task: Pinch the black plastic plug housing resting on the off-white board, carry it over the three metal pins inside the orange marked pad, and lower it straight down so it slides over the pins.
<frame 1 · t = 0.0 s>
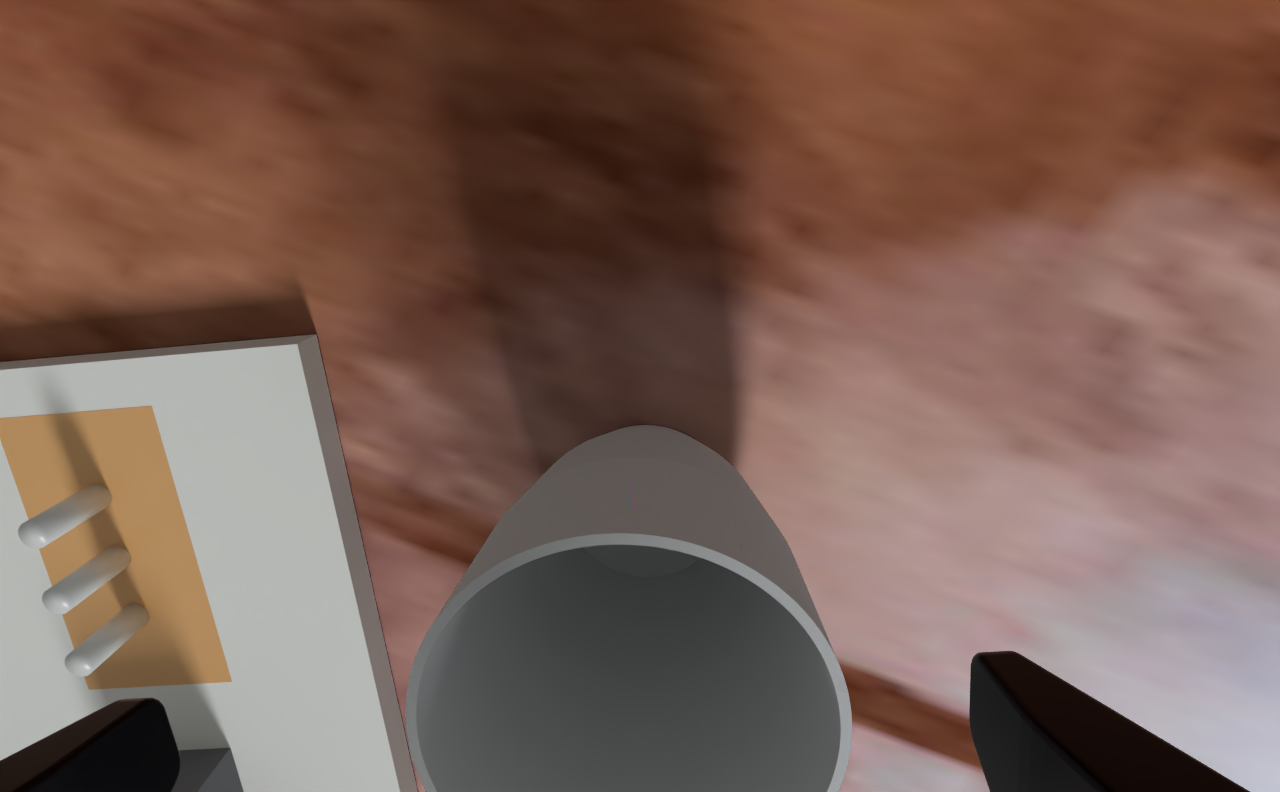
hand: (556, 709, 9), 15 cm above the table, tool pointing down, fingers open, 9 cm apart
cup: (647, 499, 24), on the table
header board: (185, 672, 27), on the table
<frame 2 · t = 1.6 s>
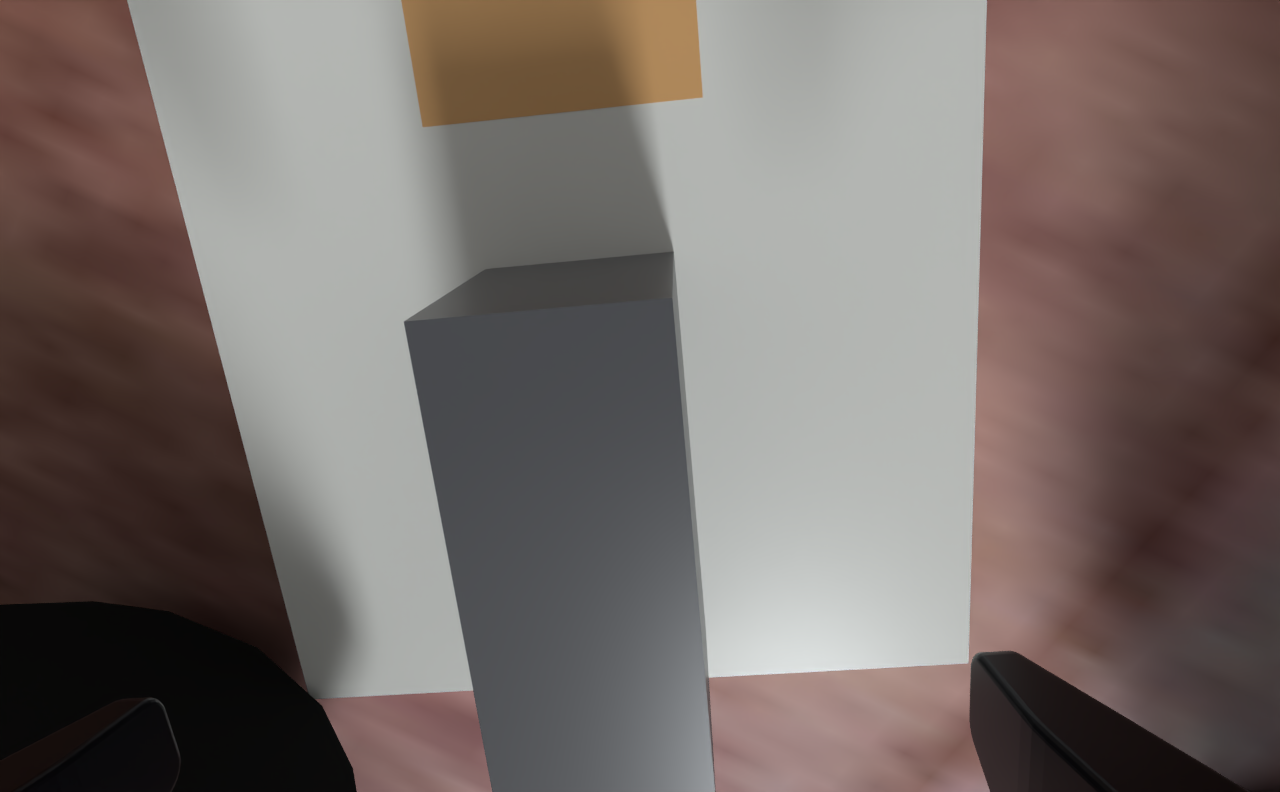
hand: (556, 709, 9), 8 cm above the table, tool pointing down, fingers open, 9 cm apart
plug housing: (603, 462, 15), point 1 cm above the table, touching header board
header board: (572, 137, 15), on the table
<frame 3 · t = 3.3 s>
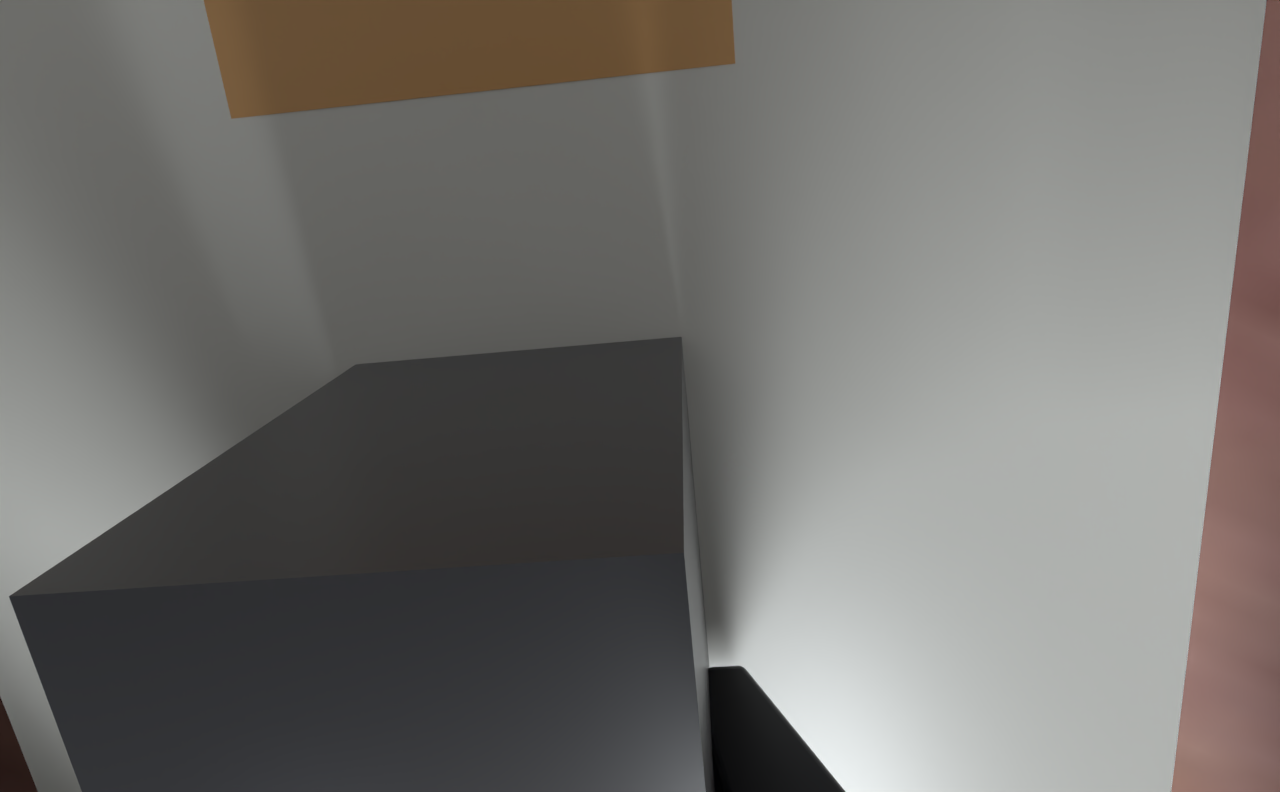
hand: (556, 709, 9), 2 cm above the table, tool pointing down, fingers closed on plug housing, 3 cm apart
plug housing: (563, 673, 9), point 1 cm above the table, touching gripper, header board
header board: (509, 138, 9), on the table
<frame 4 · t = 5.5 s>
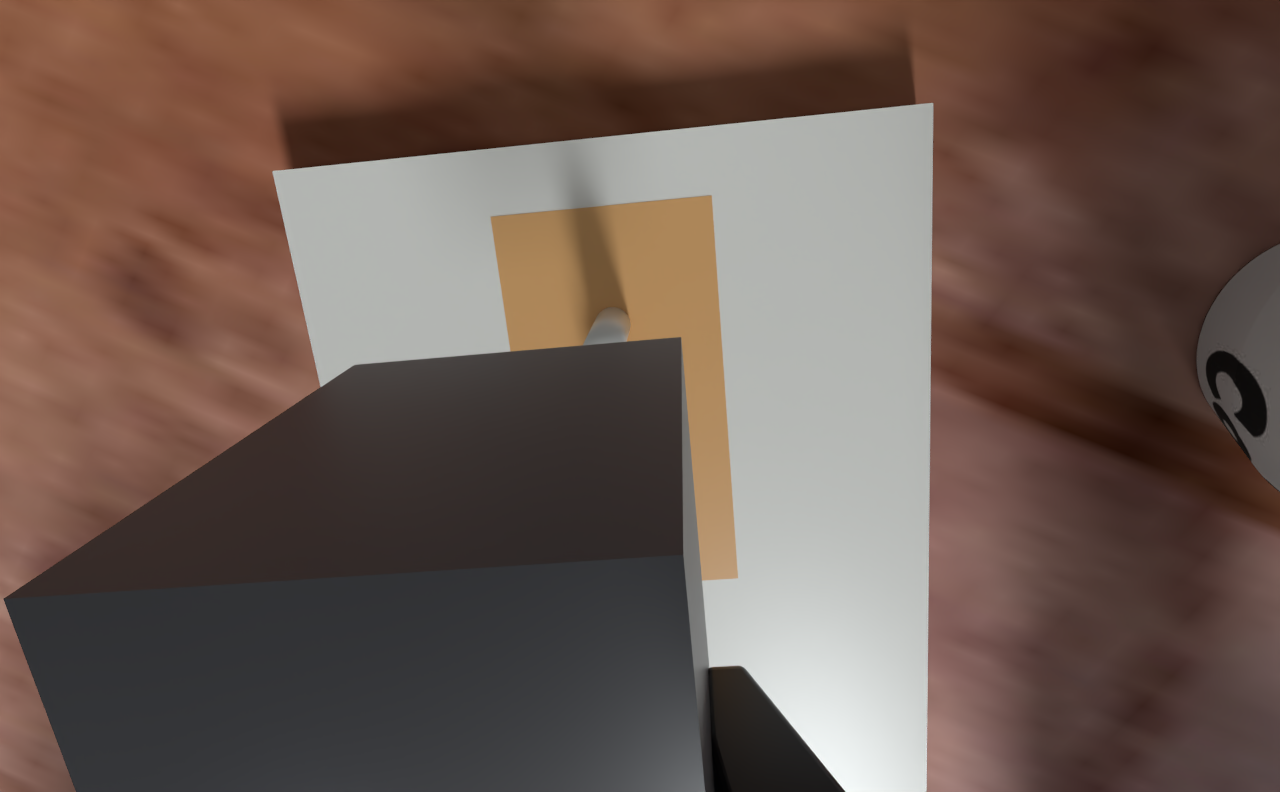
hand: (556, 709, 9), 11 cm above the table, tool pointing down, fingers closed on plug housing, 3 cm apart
plug housing: (563, 675, 9), point 11 cm above the table, touching gripper
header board: (644, 573, 21), on the table
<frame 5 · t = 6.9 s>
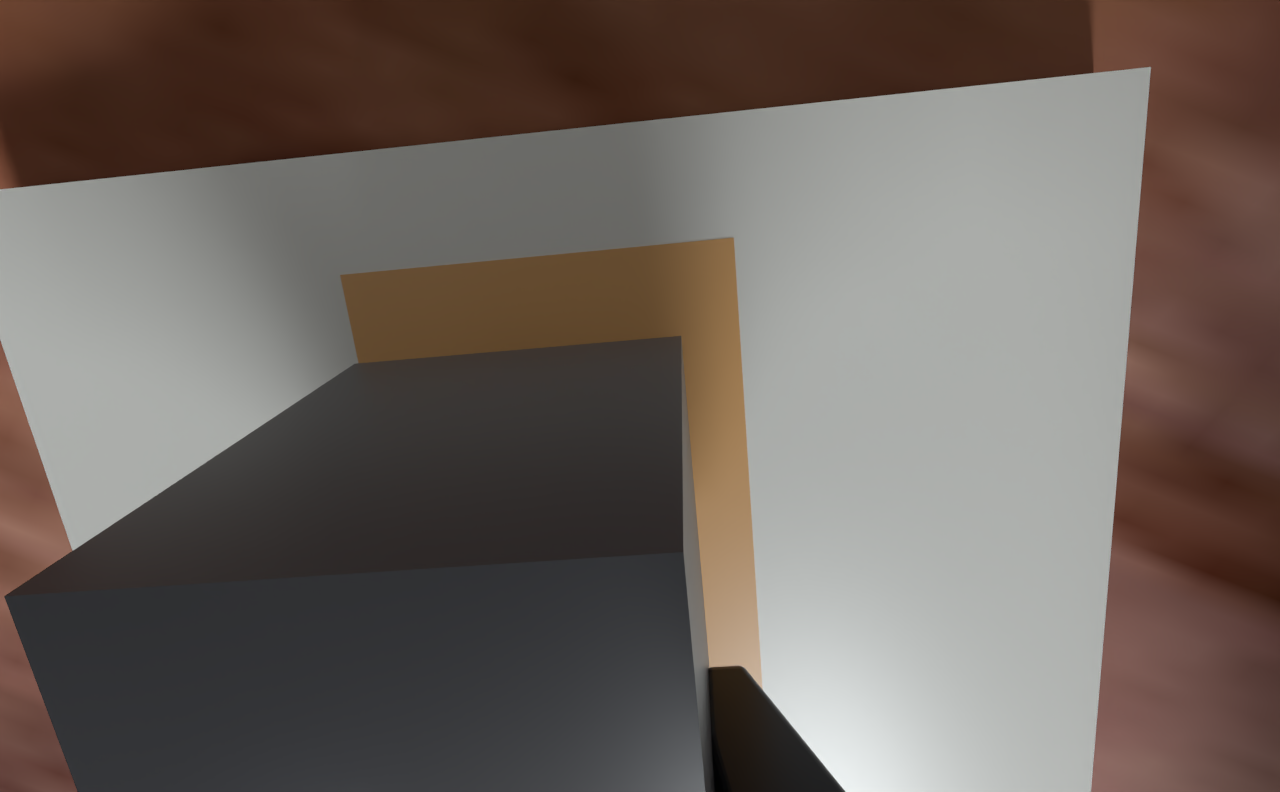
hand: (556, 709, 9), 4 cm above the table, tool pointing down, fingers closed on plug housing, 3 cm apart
plug housing: (563, 673, 9), point 3 cm above the table, touching gripper
when the fingers open (2 cm above the table, at t = 8.0 s): plug housing stays where it is, resting on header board.
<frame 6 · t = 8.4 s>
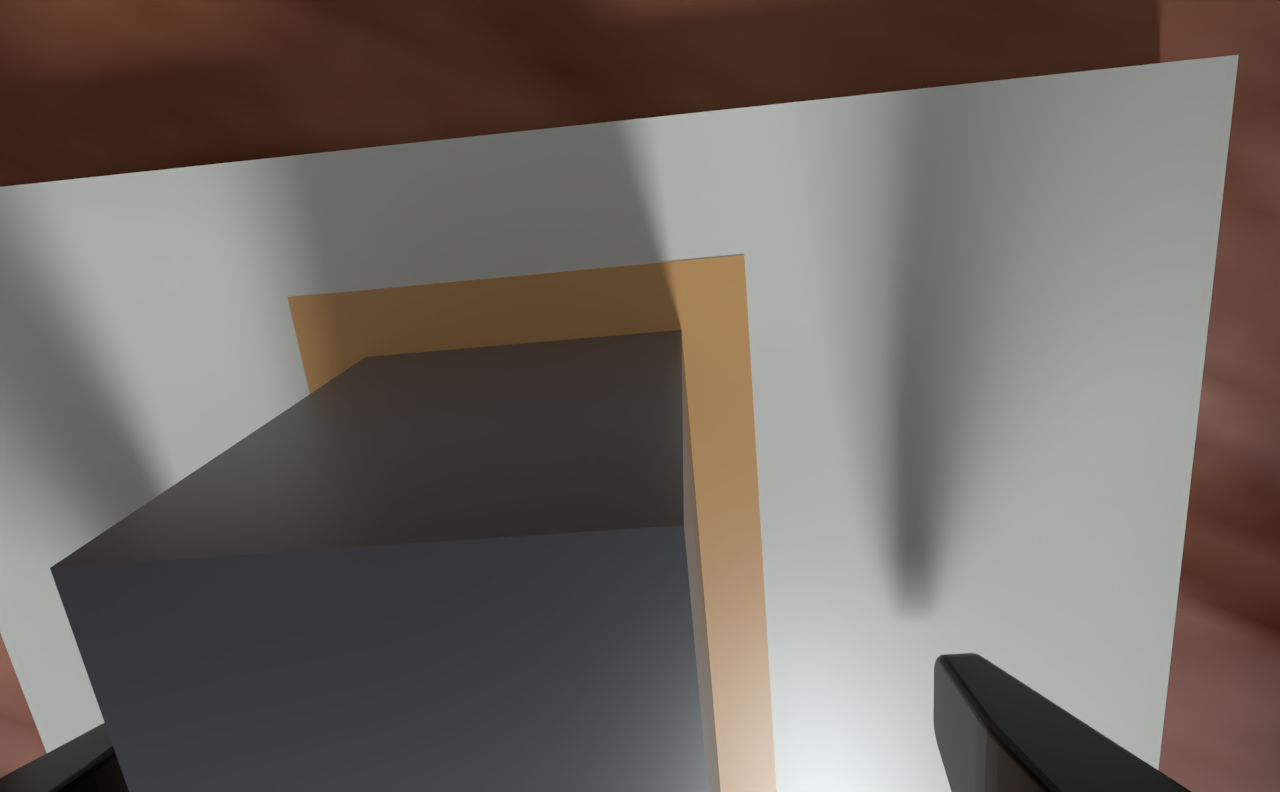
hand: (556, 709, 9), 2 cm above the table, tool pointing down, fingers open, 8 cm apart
plug housing: (567, 658, 10), point 1 cm above the table, touching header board
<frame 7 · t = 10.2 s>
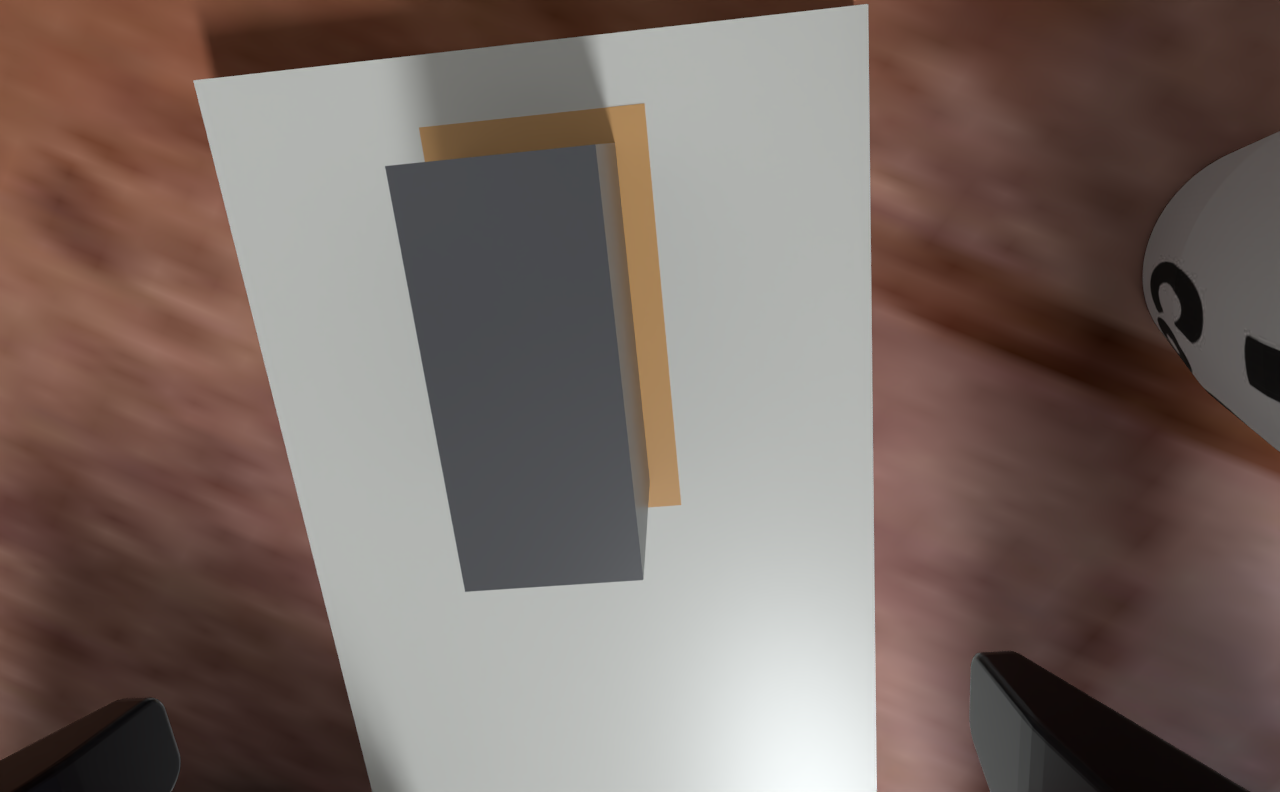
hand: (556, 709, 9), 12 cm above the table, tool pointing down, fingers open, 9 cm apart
cup: (1252, 254, 18), on the table
plug housing: (559, 329, 18), point 1 cm above the table, touching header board
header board: (590, 505, 21), on the table
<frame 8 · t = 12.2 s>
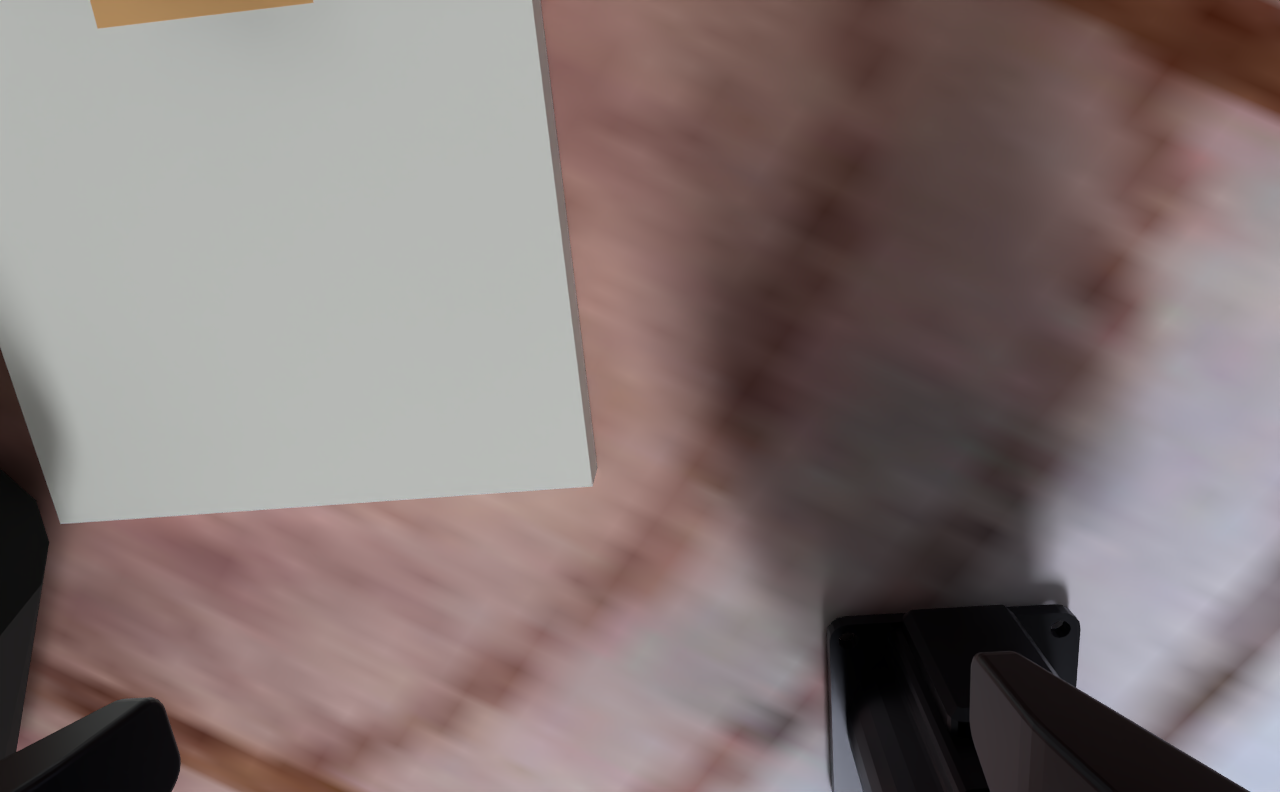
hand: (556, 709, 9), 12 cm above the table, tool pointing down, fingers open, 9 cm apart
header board: (239, 43, 18), on the table
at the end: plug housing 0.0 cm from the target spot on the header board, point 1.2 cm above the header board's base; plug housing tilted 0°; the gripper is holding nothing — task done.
